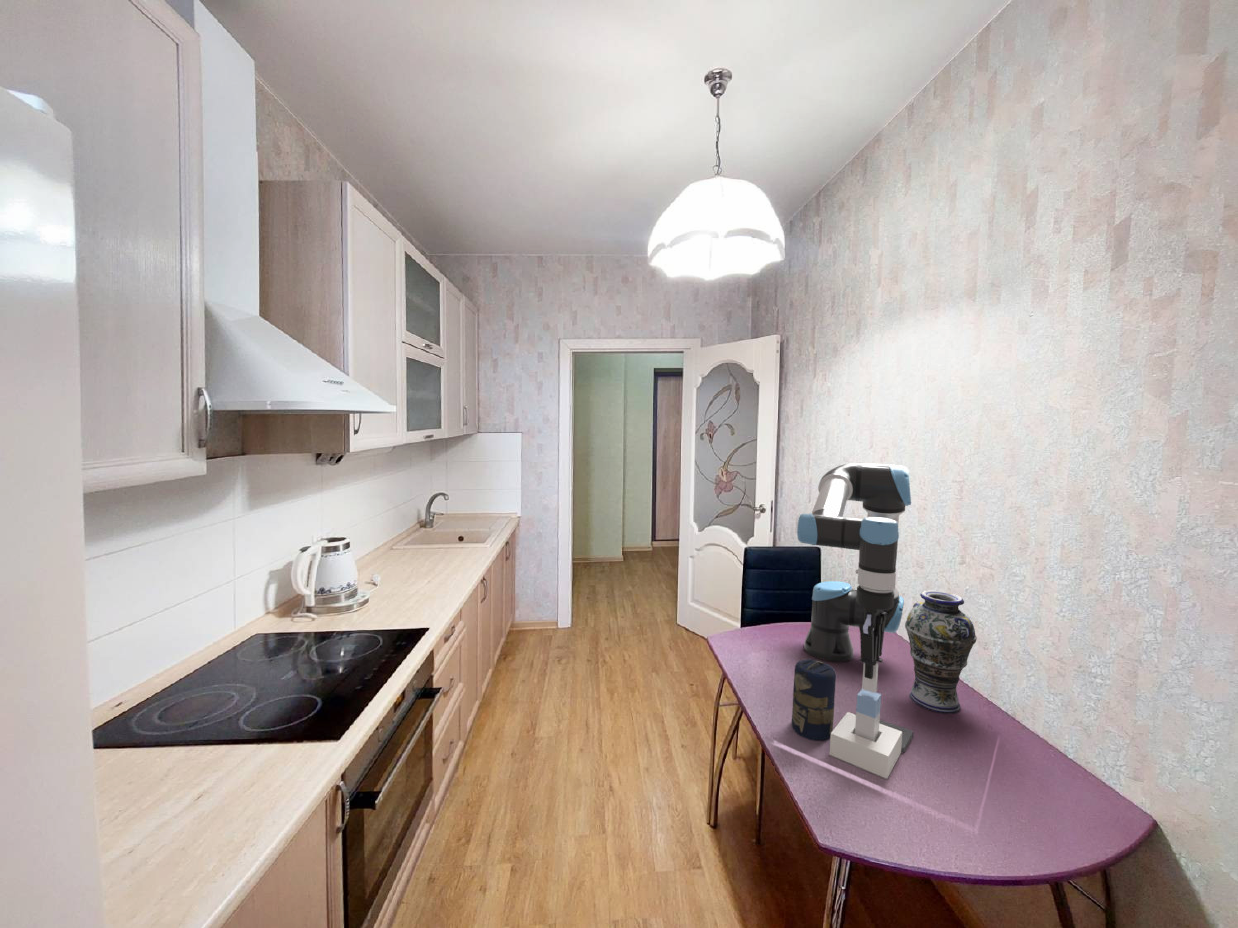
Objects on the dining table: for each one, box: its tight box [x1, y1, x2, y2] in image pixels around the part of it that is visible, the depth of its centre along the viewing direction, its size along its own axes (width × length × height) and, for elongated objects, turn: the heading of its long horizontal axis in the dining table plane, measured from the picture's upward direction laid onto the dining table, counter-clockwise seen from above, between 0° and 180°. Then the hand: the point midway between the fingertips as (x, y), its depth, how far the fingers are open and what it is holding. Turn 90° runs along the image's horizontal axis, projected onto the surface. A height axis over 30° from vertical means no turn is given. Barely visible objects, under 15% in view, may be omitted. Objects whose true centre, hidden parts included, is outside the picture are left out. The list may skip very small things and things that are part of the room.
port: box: [828, 711, 902, 780], centre depth 119 cm, size 12×12×6 cm
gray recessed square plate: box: [879, 718, 914, 754], centre depth 127 cm, size 9×9×2 cm
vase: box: [904, 590, 978, 714], centre depth 143 cm, size 17×17×30 cm
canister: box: [791, 658, 837, 742], centre depth 128 cm, size 10×10×18 cm
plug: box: [855, 688, 882, 742], centre depth 119 cm, size 4×4×14 cm
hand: (869, 689), depth 118 cm, fingers closed
